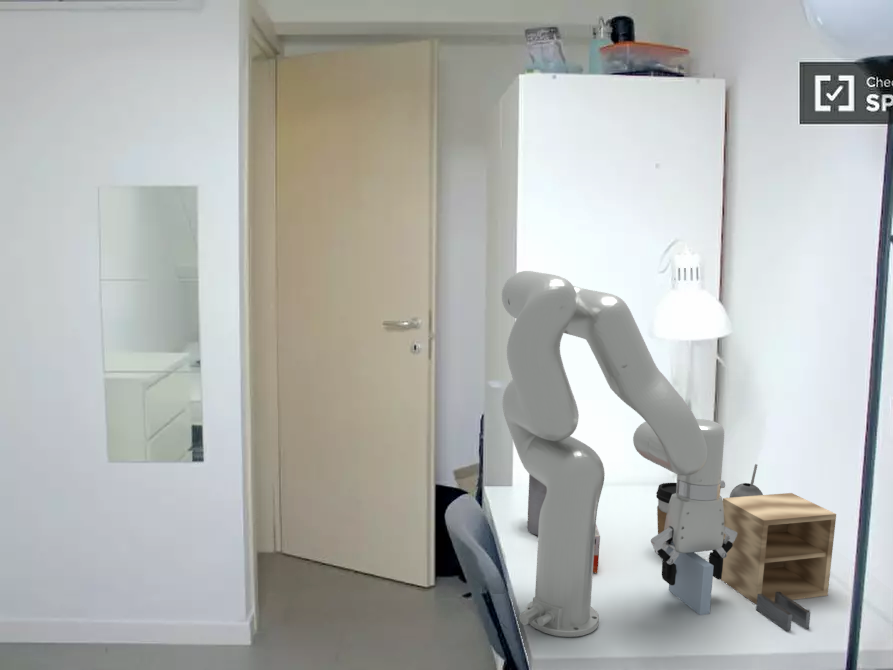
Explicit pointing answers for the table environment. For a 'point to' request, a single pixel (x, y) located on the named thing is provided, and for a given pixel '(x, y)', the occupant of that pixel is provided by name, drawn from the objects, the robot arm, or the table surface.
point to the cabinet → (778, 546)
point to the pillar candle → (535, 503)
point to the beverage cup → (746, 488)
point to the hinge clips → (783, 611)
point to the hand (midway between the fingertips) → (691, 579)
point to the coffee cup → (664, 504)
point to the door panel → (693, 582)
